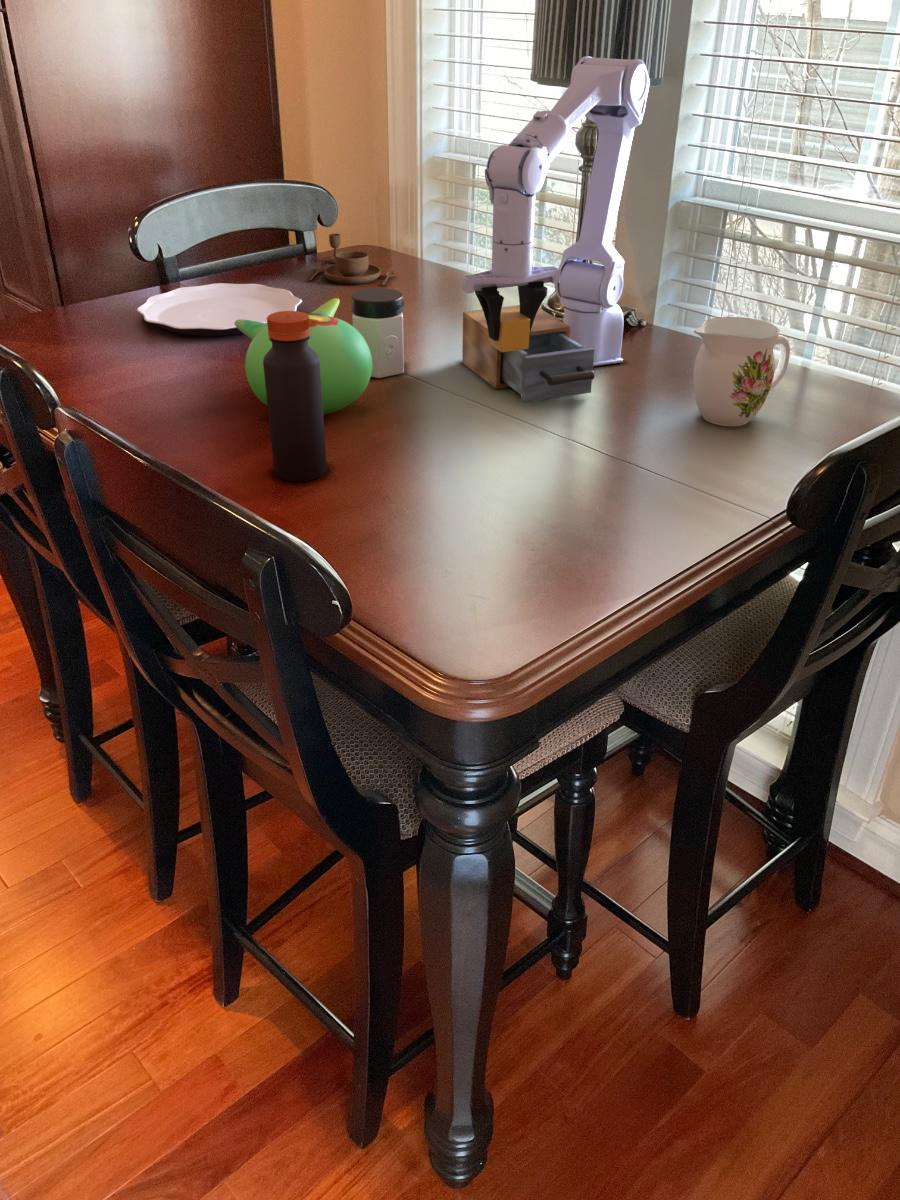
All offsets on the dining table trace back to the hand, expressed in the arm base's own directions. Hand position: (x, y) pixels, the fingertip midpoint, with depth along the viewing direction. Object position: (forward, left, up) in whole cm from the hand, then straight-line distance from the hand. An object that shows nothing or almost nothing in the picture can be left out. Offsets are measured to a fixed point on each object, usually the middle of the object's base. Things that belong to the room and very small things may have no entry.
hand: (509, 336), depth 143 cm
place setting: (-1, -78, -10) cm, 79 cm away
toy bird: (+29, -6, -10) cm, 31 cm away
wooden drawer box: (-6, -10, -9) cm, 15 cm away
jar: (+14, -19, -10) cm, 25 cm away
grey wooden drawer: (-6, +1, -8) cm, 10 cm away
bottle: (+36, +14, -10) cm, 40 cm away
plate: (+32, -57, -10) cm, 66 cm away
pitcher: (-27, +19, -10) cm, 34 cm away
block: (0, 0, -1) cm, 1 cm away
